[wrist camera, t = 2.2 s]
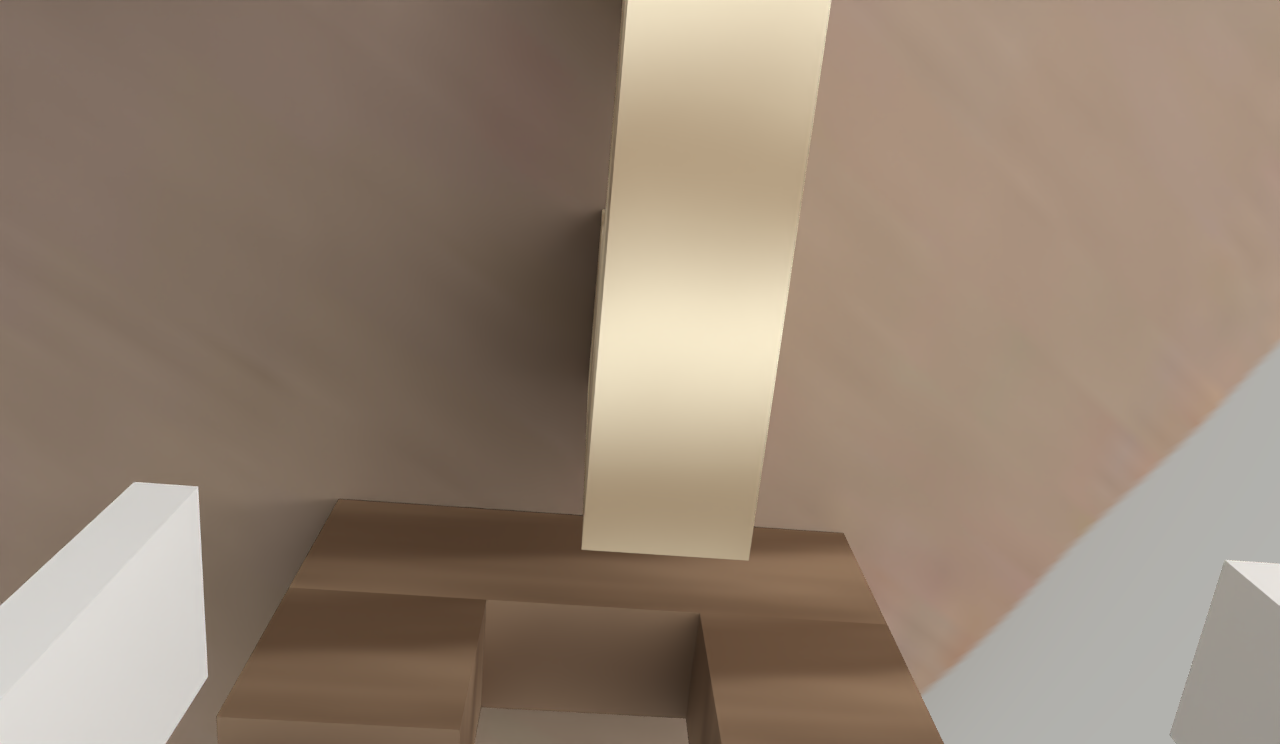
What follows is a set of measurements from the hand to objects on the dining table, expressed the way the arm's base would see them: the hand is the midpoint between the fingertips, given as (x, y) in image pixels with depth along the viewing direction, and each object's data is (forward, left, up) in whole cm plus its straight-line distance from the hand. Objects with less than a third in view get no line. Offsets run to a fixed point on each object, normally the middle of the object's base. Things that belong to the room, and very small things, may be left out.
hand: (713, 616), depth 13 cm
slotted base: (+7, -1, -14) cm, 15 cm away
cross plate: (-5, 0, -14) cm, 15 cm away
